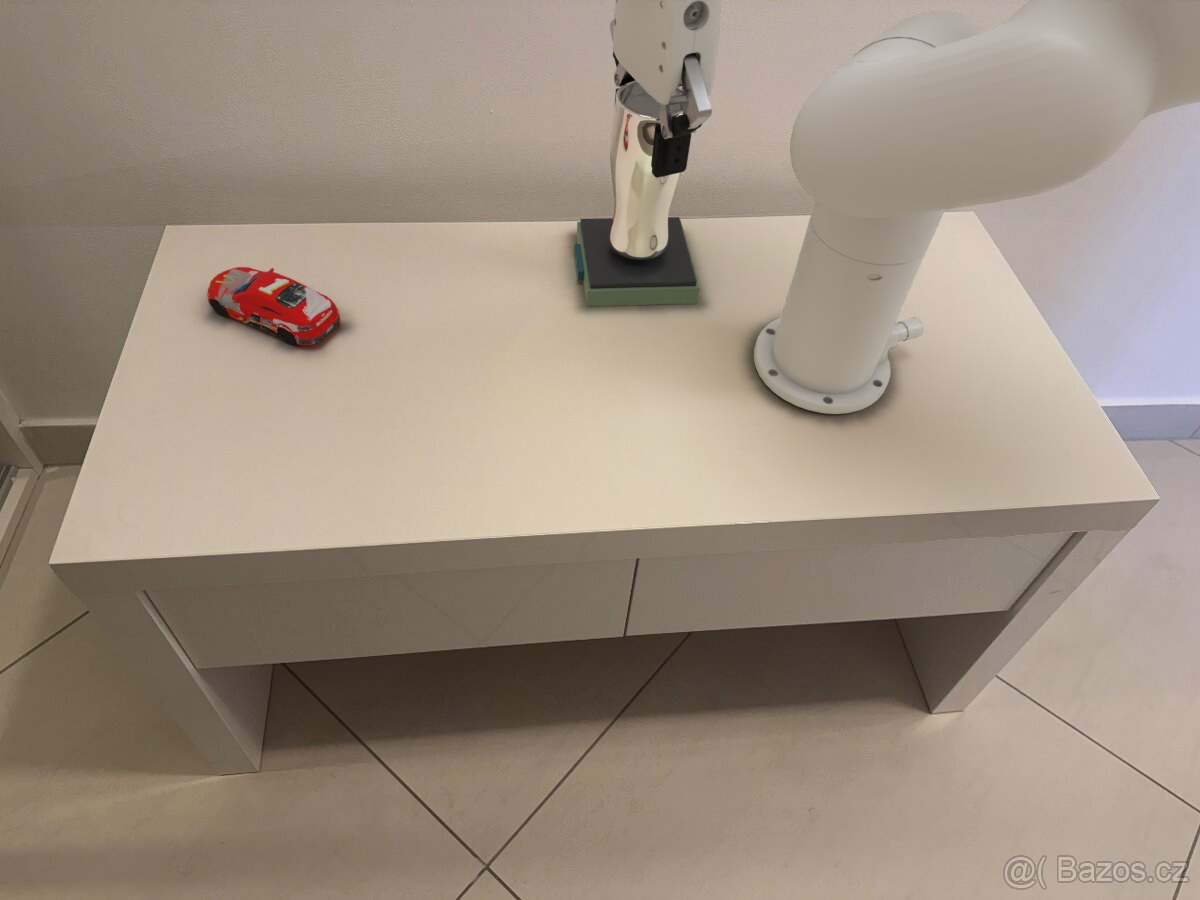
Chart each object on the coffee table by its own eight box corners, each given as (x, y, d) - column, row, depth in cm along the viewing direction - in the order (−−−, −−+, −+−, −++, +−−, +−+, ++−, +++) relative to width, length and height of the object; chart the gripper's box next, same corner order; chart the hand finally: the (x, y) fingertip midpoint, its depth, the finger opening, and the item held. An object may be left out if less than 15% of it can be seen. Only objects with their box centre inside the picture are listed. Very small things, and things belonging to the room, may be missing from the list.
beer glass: (667, 268, 83) (688, 124, 71) (596, 256, 83) (606, 111, 72) (677, 226, 87) (699, 84, 76) (610, 215, 88) (621, 72, 76)
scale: (678, 235, 92) (681, 215, 90) (696, 303, 85) (700, 283, 83) (570, 237, 91) (571, 216, 89) (580, 307, 84) (581, 286, 82)
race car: (199, 308, 81) (186, 274, 78) (240, 276, 84) (228, 242, 81) (312, 358, 77) (302, 325, 74) (350, 323, 81) (342, 289, 78)
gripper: (777, -24, 60) (732, 194, 74) (662, -112, 70) (641, 96, 84) (684, -11, 58) (656, 213, 72) (578, -103, 68) (571, 109, 81)
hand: (648, 148), depth 77 cm, fingers closed on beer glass, 7 cm apart
